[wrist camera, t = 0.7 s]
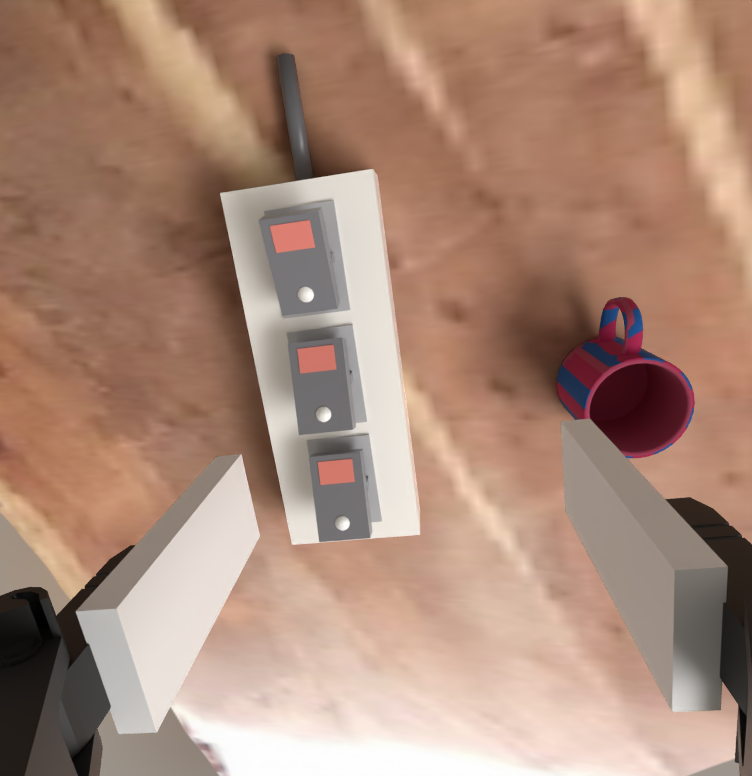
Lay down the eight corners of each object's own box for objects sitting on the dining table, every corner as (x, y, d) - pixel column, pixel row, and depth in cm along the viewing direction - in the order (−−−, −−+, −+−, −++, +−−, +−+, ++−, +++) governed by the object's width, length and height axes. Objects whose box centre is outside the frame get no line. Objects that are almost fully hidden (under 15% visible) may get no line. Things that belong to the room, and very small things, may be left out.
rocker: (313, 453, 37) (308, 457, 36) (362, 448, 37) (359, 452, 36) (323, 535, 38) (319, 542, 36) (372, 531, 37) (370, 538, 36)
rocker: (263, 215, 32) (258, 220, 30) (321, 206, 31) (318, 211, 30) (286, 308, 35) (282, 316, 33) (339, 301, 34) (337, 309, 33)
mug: (553, 422, 40) (579, 458, 34) (563, 291, 38) (593, 303, 31) (642, 422, 40) (686, 459, 33) (659, 290, 37) (711, 302, 31)
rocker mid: (293, 344, 35) (287, 344, 34) (345, 338, 35) (341, 337, 33) (304, 432, 36) (298, 435, 34) (356, 426, 35) (352, 429, 34)
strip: (213, 73, 35) (179, 46, 30) (361, 46, 34) (351, 13, 29) (301, 518, 44) (286, 554, 39) (420, 508, 43) (420, 544, 38)
